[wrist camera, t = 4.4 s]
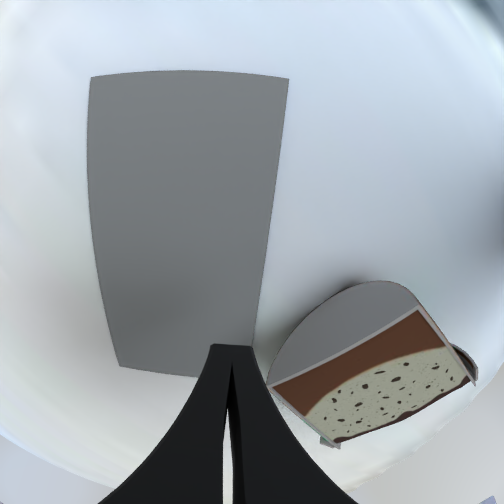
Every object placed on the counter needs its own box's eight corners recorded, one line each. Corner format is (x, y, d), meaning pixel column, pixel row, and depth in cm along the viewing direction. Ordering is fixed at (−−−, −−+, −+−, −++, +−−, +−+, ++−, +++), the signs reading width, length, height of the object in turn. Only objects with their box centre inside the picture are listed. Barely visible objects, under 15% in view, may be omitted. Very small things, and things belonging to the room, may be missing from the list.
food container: (260, 329, 21) (333, 394, 23) (245, 394, 16) (333, 451, 18) (406, 233, 16) (455, 326, 18) (445, 285, 11) (482, 381, 13)
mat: (288, 79, 12) (289, 78, 12) (246, 377, 21) (246, 380, 20) (93, 77, 11) (90, 77, 11) (120, 363, 20) (119, 366, 20)
